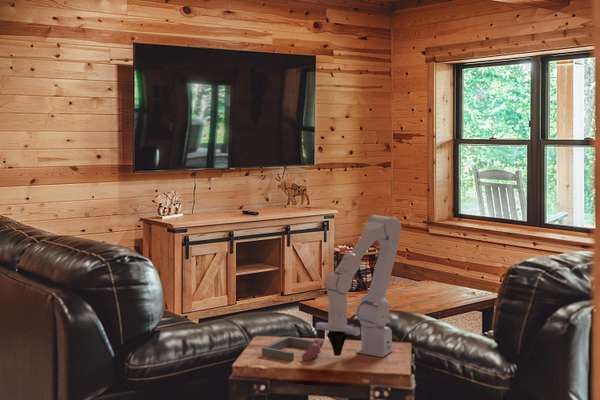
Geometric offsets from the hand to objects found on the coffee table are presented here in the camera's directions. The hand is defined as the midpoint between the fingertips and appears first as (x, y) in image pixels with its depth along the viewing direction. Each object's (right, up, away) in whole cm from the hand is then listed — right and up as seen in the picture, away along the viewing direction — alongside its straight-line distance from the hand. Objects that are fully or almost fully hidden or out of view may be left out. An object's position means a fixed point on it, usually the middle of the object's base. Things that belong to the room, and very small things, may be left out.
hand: (337, 354), depth 230 cm
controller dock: (-15, -1, +10) cm, 18 cm away
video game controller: (-7, -2, +5) cm, 9 cm away
